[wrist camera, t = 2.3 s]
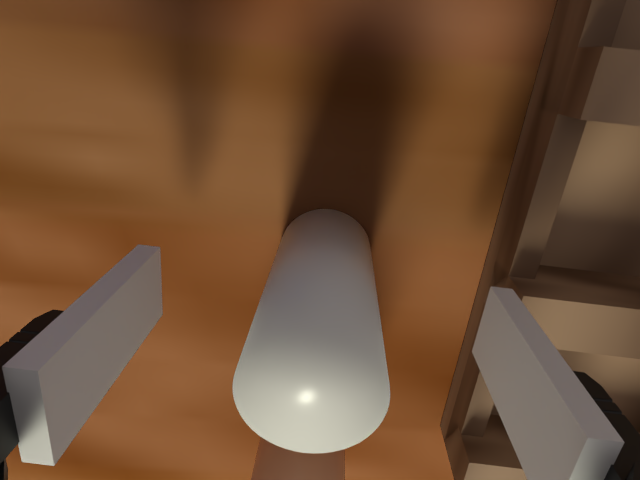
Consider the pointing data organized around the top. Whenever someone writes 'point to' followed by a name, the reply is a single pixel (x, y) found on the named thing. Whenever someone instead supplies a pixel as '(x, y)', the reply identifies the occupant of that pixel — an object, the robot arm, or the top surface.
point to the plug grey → (316, 341)
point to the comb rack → (566, 228)
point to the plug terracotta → (296, 464)
